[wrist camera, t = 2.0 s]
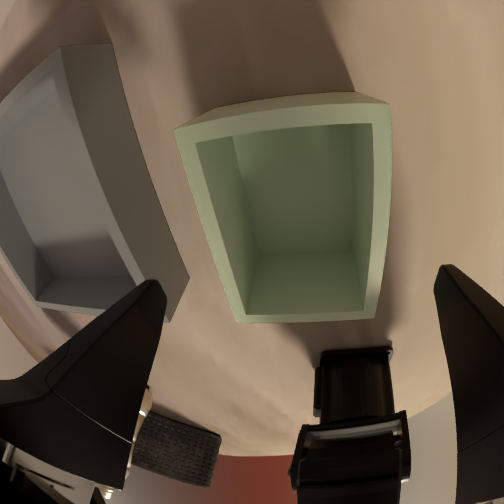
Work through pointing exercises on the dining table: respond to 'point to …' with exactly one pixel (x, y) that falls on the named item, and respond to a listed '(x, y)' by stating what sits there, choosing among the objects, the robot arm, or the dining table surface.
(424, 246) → the dining table surface
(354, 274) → the small crate
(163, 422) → the storage bin
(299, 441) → the robot arm
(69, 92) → the large crate
